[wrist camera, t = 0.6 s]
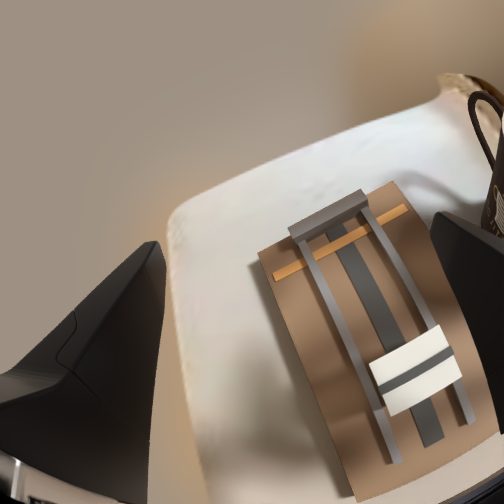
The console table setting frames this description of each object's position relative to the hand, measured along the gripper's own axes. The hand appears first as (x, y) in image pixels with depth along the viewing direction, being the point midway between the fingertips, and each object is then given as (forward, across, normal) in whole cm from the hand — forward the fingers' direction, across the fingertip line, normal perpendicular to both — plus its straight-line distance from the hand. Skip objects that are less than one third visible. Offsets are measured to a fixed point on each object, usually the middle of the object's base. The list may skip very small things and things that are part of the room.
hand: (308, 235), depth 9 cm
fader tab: (0, -7, +11) cm, 13 cm away
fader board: (+3, -7, +12) cm, 14 cm away
